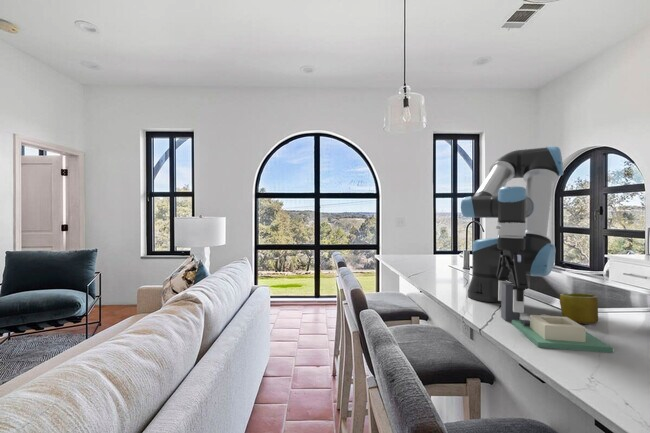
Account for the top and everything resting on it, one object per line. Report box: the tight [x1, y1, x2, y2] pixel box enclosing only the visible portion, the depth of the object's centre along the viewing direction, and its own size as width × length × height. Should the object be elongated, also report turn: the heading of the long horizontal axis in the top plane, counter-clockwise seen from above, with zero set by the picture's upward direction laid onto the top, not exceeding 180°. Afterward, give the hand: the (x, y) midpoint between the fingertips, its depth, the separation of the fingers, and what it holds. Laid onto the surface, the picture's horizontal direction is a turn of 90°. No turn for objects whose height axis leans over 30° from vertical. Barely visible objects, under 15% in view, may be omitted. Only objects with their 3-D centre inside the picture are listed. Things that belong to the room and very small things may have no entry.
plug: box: [500, 281, 521, 322], centre depth 104 cm, size 4×4×11 cm
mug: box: [558, 292, 599, 325], centre depth 104 cm, size 12×10×10 cm
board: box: [511, 313, 614, 354], centre depth 90 cm, size 18×16×5 cm
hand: (510, 306), depth 104 cm, fingers open, 13 cm apart
